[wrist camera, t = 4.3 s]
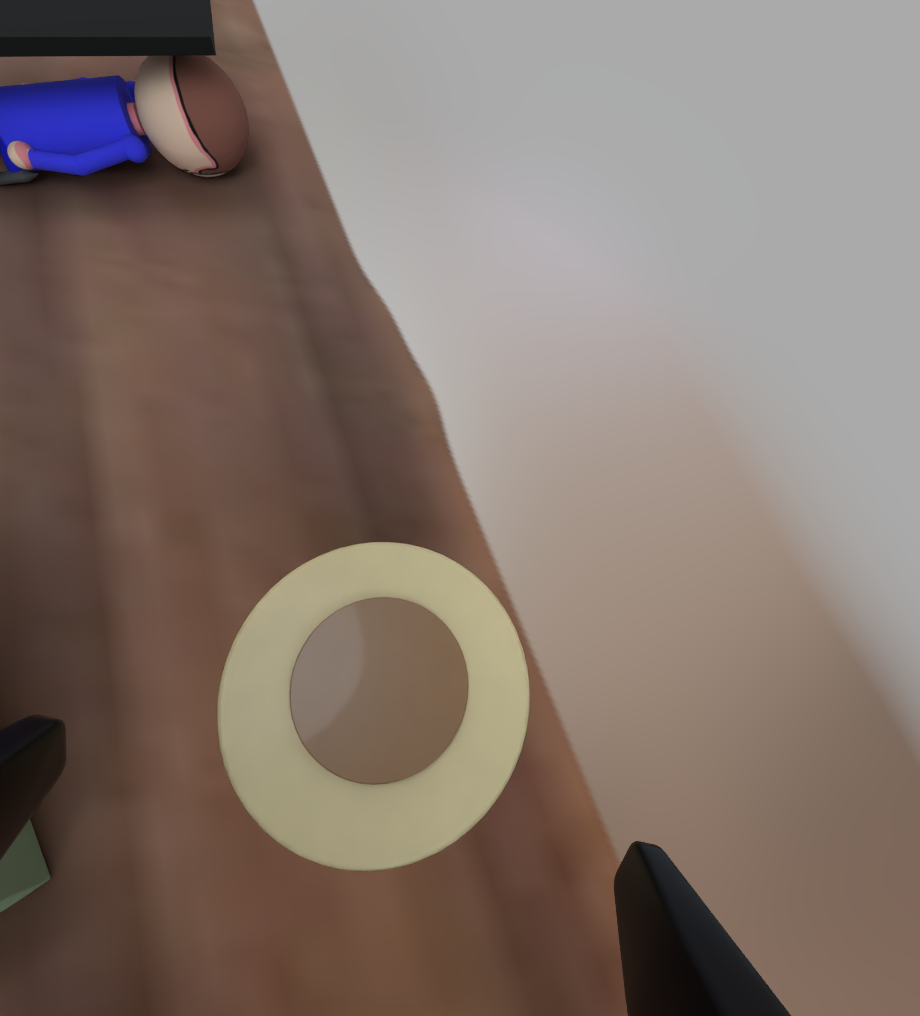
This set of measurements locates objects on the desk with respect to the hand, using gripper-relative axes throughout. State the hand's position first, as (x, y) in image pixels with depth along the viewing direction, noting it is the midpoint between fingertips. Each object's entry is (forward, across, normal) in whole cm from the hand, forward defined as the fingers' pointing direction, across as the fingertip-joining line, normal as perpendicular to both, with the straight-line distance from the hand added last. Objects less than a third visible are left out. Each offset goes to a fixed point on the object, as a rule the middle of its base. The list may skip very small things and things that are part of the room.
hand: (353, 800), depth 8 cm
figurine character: (+23, +20, -10) cm, 32 cm away
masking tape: (+8, 0, +5) cm, 9 cm away
